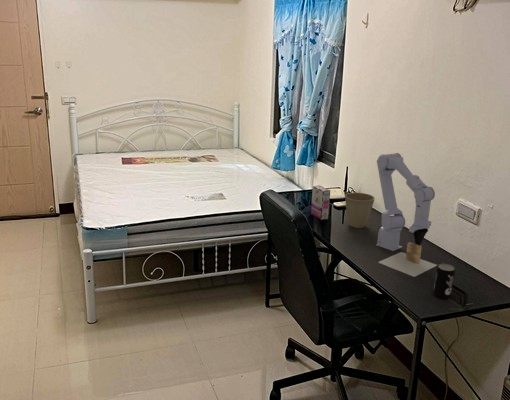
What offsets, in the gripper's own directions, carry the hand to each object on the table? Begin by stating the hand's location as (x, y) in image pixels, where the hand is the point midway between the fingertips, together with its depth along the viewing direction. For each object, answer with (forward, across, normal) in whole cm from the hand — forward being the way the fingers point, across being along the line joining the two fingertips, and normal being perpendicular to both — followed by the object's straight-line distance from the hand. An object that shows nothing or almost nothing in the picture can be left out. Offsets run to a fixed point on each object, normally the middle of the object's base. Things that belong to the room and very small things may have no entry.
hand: (418, 244), depth 218 cm
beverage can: (+8, -21, -24) cm, 33 cm away
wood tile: (+7, -3, 0) cm, 8 cm away
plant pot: (+8, +16, +44) cm, 47 cm away
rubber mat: (+8, -7, 0) cm, 10 cm away
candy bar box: (+8, +10, +66) cm, 67 cm away
